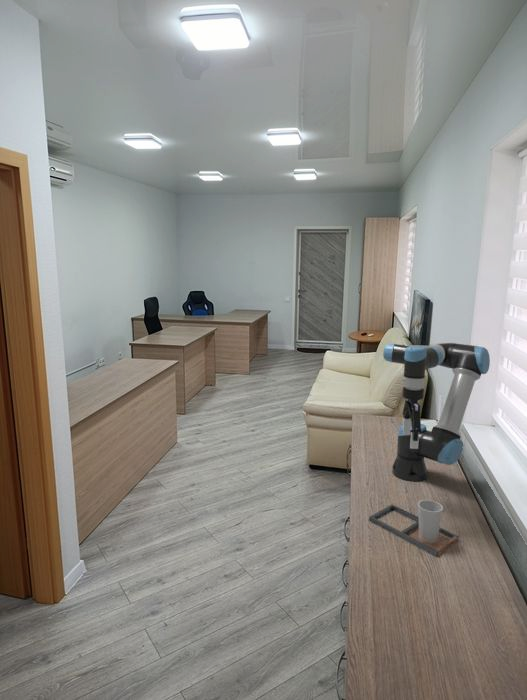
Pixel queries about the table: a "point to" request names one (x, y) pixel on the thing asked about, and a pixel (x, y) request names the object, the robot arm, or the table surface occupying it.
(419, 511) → the cup
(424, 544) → the two-slot metal tray
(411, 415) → the robot arm
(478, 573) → the table surface
